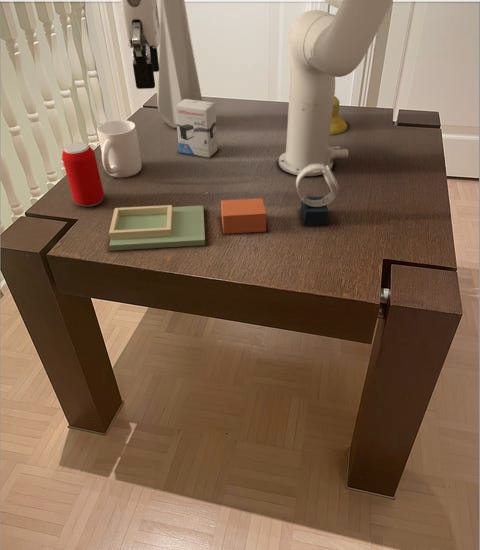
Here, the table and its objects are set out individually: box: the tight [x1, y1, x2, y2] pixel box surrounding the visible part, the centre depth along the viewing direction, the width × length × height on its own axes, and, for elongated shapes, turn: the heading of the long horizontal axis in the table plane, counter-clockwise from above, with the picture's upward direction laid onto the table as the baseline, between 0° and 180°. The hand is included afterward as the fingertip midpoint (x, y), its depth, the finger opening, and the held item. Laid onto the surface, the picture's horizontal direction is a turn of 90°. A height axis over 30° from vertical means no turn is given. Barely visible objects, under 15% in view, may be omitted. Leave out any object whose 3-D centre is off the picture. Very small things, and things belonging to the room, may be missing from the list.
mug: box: [96, 119, 143, 179], centre depth 101 cm, size 12×8×10 cm
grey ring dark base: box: [295, 163, 340, 227], centre depth 86 cm, size 6×8×11 cm
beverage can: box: [61, 142, 105, 208], centre depth 91 cm, size 6×6×12 cm
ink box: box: [175, 99, 218, 158], centre depth 110 cm, size 8×5×12 cm, turn 68°
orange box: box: [220, 197, 267, 235], centre depth 87 cm, size 8×6×4 cm
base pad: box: [108, 204, 206, 252], centre depth 86 cm, size 17×12×3 cm
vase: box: [155, 0, 203, 129], centre depth 117 cm, size 12×12×33 cm
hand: (148, 79), depth 82 cm, fingers open, 9 cm apart
